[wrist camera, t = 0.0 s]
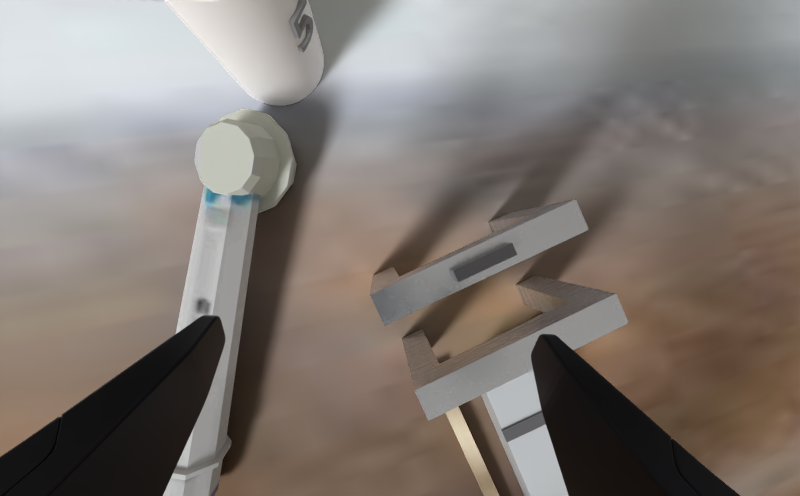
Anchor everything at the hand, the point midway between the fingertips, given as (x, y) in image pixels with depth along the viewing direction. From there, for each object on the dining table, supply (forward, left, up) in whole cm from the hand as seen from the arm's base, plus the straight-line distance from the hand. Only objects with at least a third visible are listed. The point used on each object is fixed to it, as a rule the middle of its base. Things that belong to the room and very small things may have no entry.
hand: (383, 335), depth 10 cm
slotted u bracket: (-3, -5, -15) cm, 16 cm away
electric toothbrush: (+3, +10, -15) cm, 19 cm away
